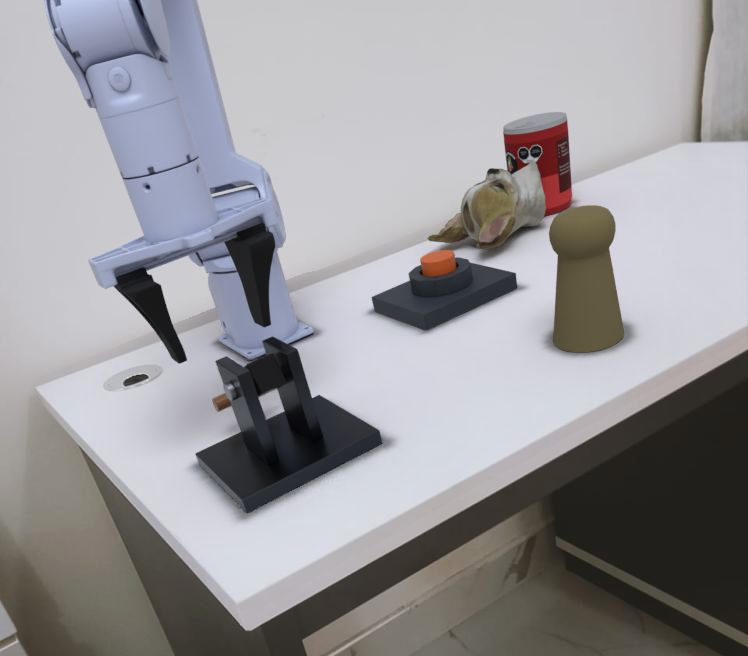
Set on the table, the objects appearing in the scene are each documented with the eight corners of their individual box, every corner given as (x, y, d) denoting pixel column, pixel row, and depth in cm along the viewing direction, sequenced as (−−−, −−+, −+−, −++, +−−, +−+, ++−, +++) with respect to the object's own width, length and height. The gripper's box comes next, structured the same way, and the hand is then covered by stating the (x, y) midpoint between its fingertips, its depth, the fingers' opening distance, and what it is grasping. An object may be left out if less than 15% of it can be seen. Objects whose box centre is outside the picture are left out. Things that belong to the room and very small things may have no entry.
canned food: (502, 212, 103) (492, 126, 97) (555, 196, 104) (548, 109, 98) (528, 222, 97) (519, 131, 91) (583, 205, 98) (578, 113, 92)
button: (416, 275, 80) (413, 259, 79) (443, 264, 81) (440, 248, 80) (436, 281, 77) (433, 264, 76) (463, 269, 78) (461, 252, 78)
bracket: (199, 465, 62) (160, 369, 57) (322, 406, 66) (295, 312, 61) (247, 513, 55) (206, 407, 50) (382, 443, 59) (357, 339, 54)
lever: (220, 419, 64) (207, 393, 63) (271, 395, 66) (259, 370, 65) (244, 401, 55) (229, 371, 54) (303, 374, 56) (289, 345, 56)
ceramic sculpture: (565, 147, 88) (471, 195, 83) (574, 220, 93) (485, 270, 88) (502, 147, 96) (413, 191, 91) (513, 215, 101) (429, 260, 96)
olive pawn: (626, 347, 63) (622, 214, 57) (552, 355, 65) (541, 227, 58) (622, 319, 68) (618, 192, 62) (553, 327, 69) (542, 205, 63)
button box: (374, 311, 83) (367, 281, 81) (460, 273, 87) (455, 243, 85) (426, 330, 75) (420, 297, 73) (517, 288, 79) (514, 255, 77)
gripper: (76, 203, 49) (155, 389, 56) (271, 139, 53) (320, 318, 61) (54, 195, 54) (129, 366, 61) (234, 137, 59) (282, 302, 66)
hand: (222, 341), depth 62 cm, fingers open, 7 cm apart
